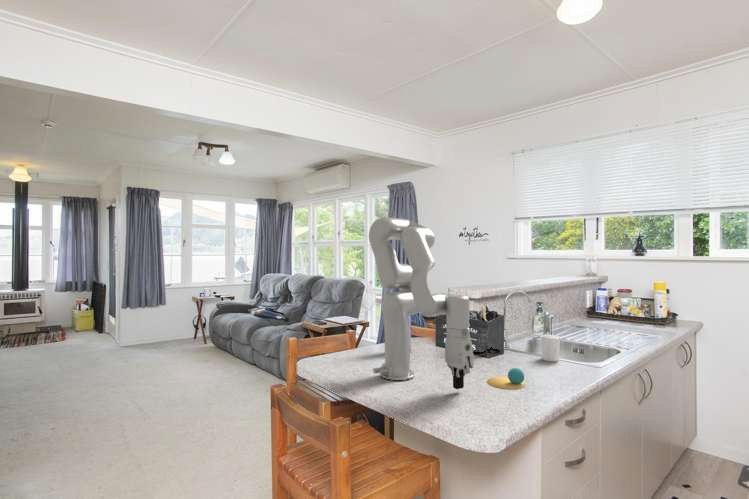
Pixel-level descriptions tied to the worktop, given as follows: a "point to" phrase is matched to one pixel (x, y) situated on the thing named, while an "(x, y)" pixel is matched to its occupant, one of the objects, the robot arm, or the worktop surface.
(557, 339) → the white cup
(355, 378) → the worktop surface
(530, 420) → the worktop surface
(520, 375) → the ball
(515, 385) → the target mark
